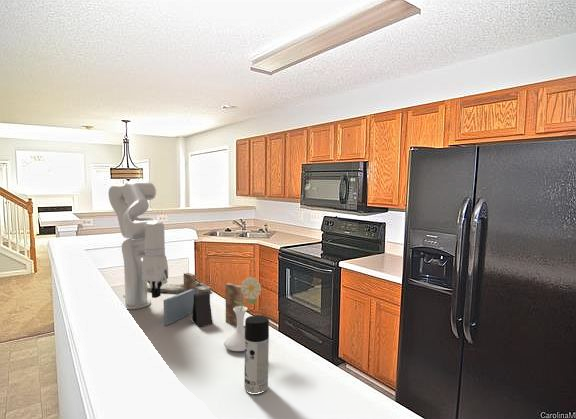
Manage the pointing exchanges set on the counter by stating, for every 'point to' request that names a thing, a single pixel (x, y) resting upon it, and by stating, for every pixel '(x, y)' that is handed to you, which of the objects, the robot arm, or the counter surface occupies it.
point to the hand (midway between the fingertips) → (156, 296)
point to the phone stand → (202, 310)
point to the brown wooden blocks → (231, 294)
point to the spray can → (256, 353)
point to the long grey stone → (181, 288)
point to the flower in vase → (242, 314)
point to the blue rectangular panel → (179, 306)
